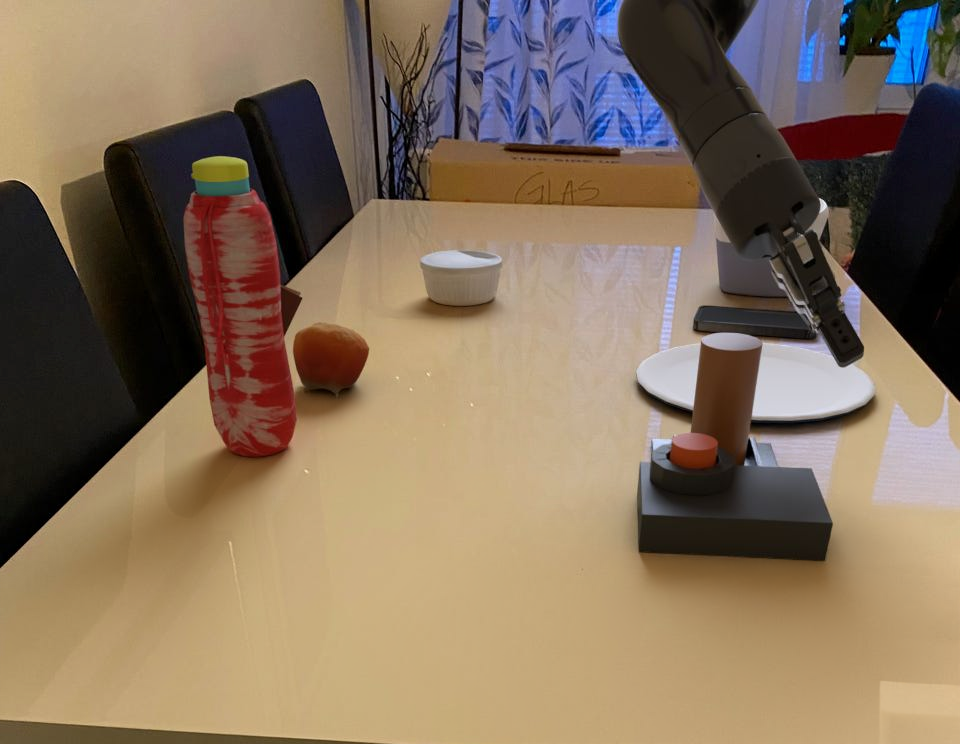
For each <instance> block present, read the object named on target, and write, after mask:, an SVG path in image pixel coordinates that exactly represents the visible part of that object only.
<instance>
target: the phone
mask: <svg viewBox="0 0 960 744" xmlns="http://www.w3.org/2000/svg"><path fill="white" fill-rule="evenodd" d="M692 329H693V330H695V331H701V332H712V333H713V332H715V333H739V334H745V335H751V336H754V335H755V336H765V337H766V336H768V337H780V338H792V339H803V340H810V339H815V338H817V335H818V333H817V332H816V333H813V331H811V330H810V329H809V327H808V325H807V324H806V322H805V321H804V320H803V318H802V317H801V316H800V315H799V313H798V312H797V311H796V310H795V311H794V310H781V309H765V308H752V307H739V306H738V307H737V306H724V305H711V304H705V305H703V304H702V305H699V306H698V308H697V310H696V312H695V315H694V317H693V322H692Z"/></svg>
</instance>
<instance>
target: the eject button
mask: <svg viewBox="0 0 960 744" xmlns="http://www.w3.org/2000/svg"><path fill="white" fill-rule="evenodd" d="M675 435H676V436H674V437H673V436H672V438H671V440H672V442H671V452H670V462H672V463H673V464H675V465H678V466H682V467H686V468H700V469H702V468H707V467H712V466H714V465H715V463H716V455H717V447H718V442H717V440H716V439H715V438H713V437H711V436H708V435H705V434H700V433H691V432H685V433H679V434H675Z"/></svg>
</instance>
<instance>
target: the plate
mask: <svg viewBox="0 0 960 744" xmlns="http://www.w3.org/2000/svg"><path fill="white" fill-rule="evenodd" d="M700 346H701V342H698V343H697V342H696V343H692V344H686V345H680V346H674V347H671V348H668V349H665V350H661V351H659V352H656V353H654V354H652V355H650V356H649V357H647V358H646V359H644V360H643V361H641V362H640V364H639V366H638V367H637V369H636V371H635V375H636V380H637V384H638V385H639V386H640V387H641V388H642V389H643V390H644V391H645V392H646V393H647V394H648V395H649V396H651V397H653V398H656V399H657V400H659V401H661V402H662V403H664V404H666V405H668V406H671V407H674V408H677V409H681V410H682V411H683V410H684V411H686V412H690V413H692V414H693V407H694V398H695V390H696V381H697V372H698V363H699V355H700ZM875 387H876V386H875V383H874V382H873V380H872V379H871V377H869V375H868V373H866V372H865V371H863V369H862V370H861V368H859V367H857V366H855V365H854V364H853V363H852V364H850V365H848V366H847V367H844V368H842V367H839V366H838V365H837V363H836V361H835V359H834V358H833V356H832V355H830V354H827V353H823V352H819V351H816V350H811V349H808V348H803V347H797V346H790V345H785V344H779V343H770V342H769V343H768V342H762V351H761V358H760V364H759V371H758V378H757V385H756V391H755V398H754V405H753V411H752V418H751V423H756V424H757V423H759V424H760V423H761V424H796V423H806V422H807V423H808V422H818V421H824V420H829V419H833V418H837V417H842V416H846V415H848V414H850V413H853V412H855V411H857V410H859V409H861V408H864V407H866V406H867V405H868V403H869V402H870V401H871V400H872V399H873V398H874V397H875V395H876V394H875V390H876V389H875Z"/></svg>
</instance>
